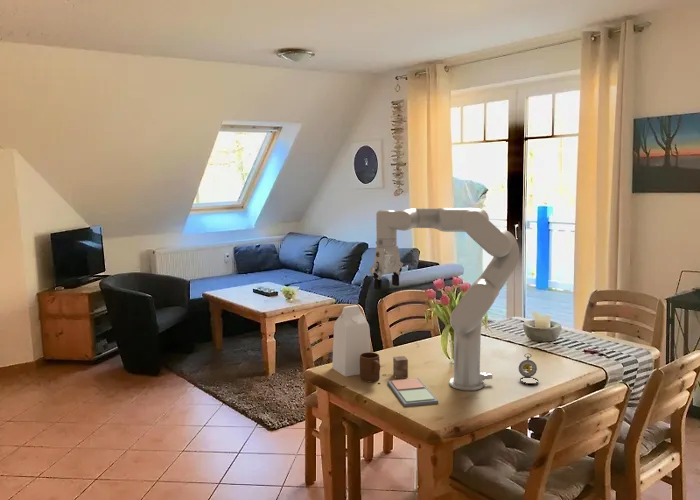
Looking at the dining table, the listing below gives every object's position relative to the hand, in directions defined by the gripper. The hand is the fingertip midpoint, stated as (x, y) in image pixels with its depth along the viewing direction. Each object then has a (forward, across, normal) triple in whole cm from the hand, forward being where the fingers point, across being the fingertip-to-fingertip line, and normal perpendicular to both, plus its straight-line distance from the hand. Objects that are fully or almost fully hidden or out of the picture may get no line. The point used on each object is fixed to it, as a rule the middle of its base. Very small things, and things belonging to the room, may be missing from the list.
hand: (386, 287), depth 224 cm
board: (+35, -7, -18) cm, 40 cm away
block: (+35, +4, -4) cm, 35 cm away
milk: (+35, -5, +15) cm, 38 cm away
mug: (+35, -8, 0) cm, 36 cm away
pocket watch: (+35, +33, -42) cm, 64 cm away
